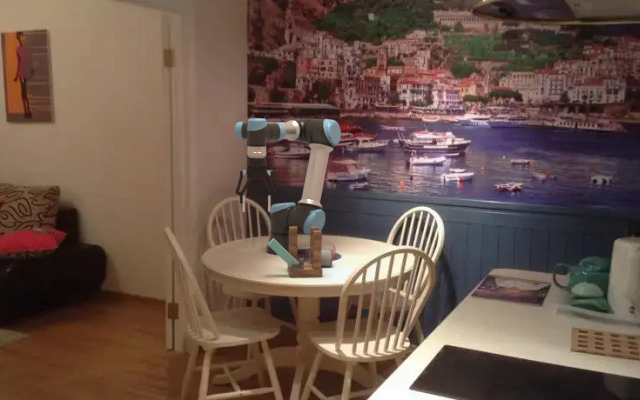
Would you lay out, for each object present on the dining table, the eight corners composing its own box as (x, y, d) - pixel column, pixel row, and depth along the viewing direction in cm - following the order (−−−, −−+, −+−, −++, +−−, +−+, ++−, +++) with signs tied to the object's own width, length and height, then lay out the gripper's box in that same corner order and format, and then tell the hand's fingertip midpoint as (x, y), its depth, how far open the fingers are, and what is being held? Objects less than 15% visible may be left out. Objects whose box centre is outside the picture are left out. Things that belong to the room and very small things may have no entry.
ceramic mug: (332, 268, 266) (333, 250, 265) (313, 268, 266) (314, 250, 265) (330, 262, 277) (331, 245, 276) (312, 262, 276) (312, 245, 275)
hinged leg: (293, 268, 255) (267, 243, 252) (299, 263, 255) (273, 237, 252) (294, 271, 251) (268, 245, 248) (300, 265, 251) (273, 239, 248)
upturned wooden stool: (287, 269, 263) (288, 226, 261) (317, 268, 265) (318, 226, 262) (290, 277, 250) (291, 232, 247) (322, 277, 252) (323, 232, 249)
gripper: (228, 157, 245) (228, 213, 248) (285, 157, 248) (284, 212, 252) (228, 155, 252) (228, 209, 256) (283, 156, 256) (282, 209, 259)
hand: (256, 211), depth 254 cm, fingers open, 10 cm apart
